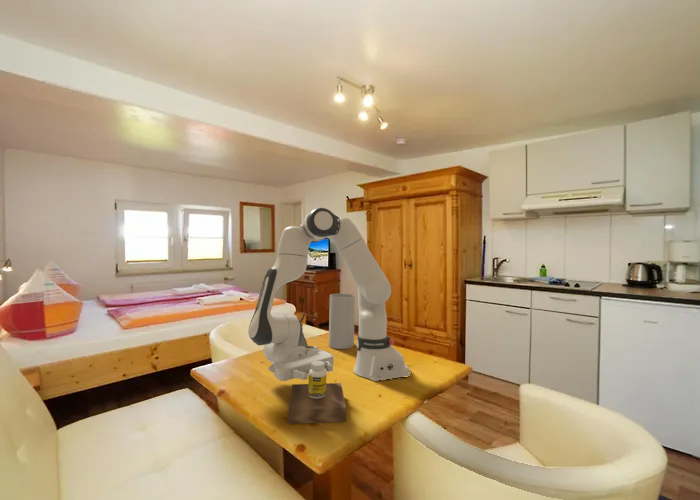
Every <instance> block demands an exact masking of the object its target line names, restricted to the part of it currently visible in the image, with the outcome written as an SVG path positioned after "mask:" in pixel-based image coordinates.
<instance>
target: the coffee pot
mask: <svg viewBox="0 0 700 500" xmlns="http://www.w3.org/2000/svg"><path fill="white" fill-rule="evenodd" d="M305 317H306V312H304V313H302V316H301V317H300V319H299V320H300V322H301V324H302V327H303V326H304V323H303V320H304V318H305ZM298 346H308V342H307V339H306V337H305V335H304V332H303V331H302V337H301V340H300V342H299V345H298Z"/></svg>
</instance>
